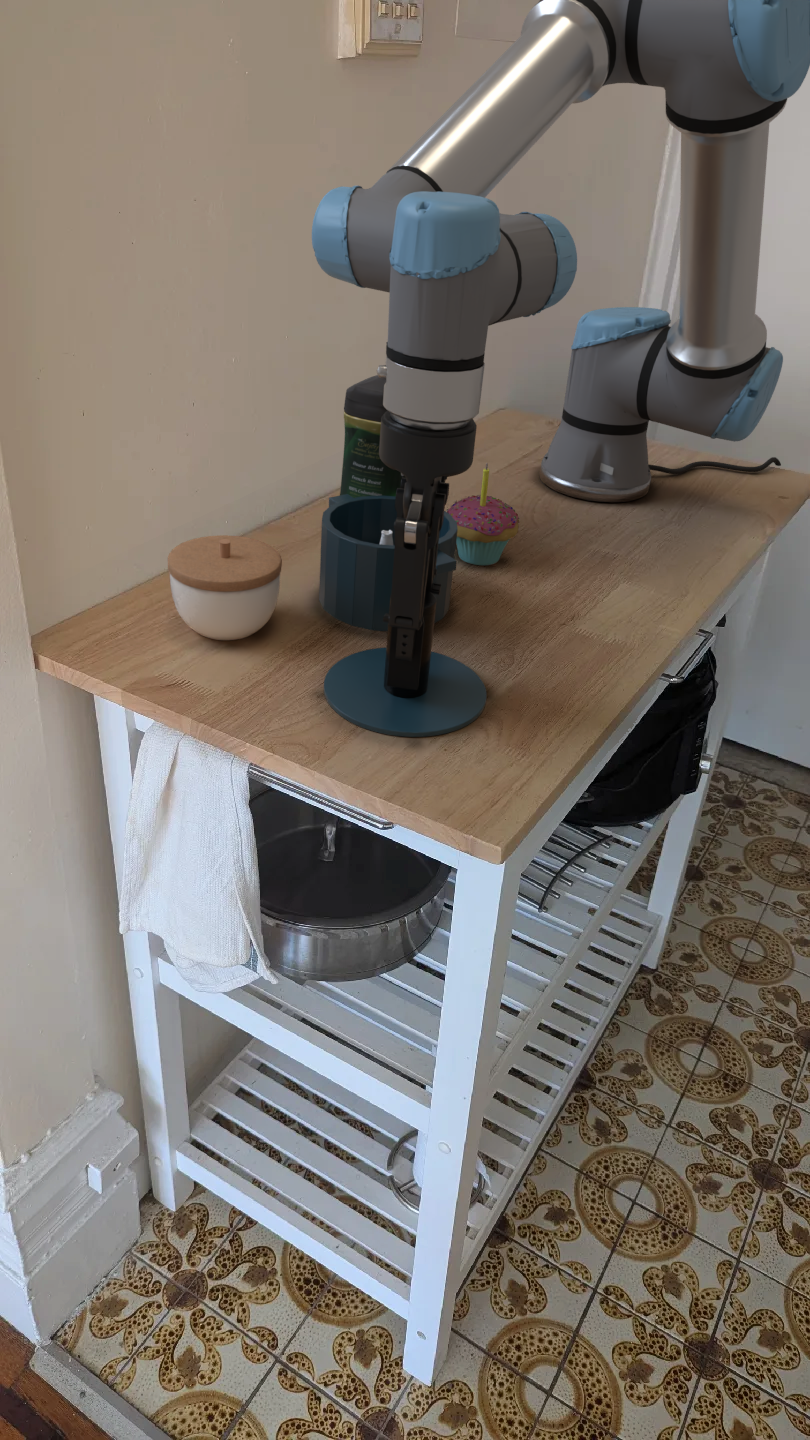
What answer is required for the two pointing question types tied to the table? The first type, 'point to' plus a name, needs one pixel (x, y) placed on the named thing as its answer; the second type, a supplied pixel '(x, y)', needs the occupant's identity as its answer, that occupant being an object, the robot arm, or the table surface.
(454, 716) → the lid
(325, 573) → the pot
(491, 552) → the cupcake
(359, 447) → the coffee jar
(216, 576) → the trinket box
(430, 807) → the table surface
